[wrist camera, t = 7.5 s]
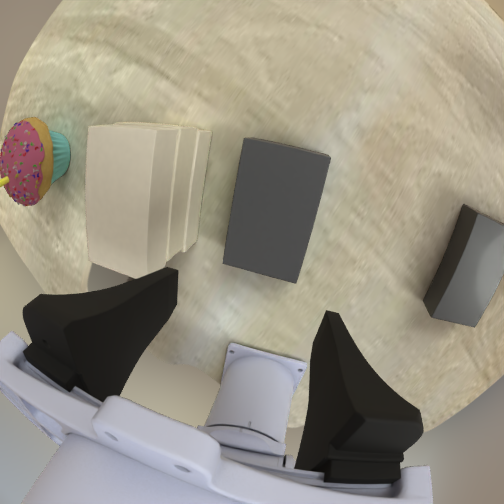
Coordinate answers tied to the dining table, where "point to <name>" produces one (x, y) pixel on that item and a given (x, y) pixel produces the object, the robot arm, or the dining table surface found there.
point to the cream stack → (185, 185)
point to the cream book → (128, 196)
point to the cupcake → (32, 160)
